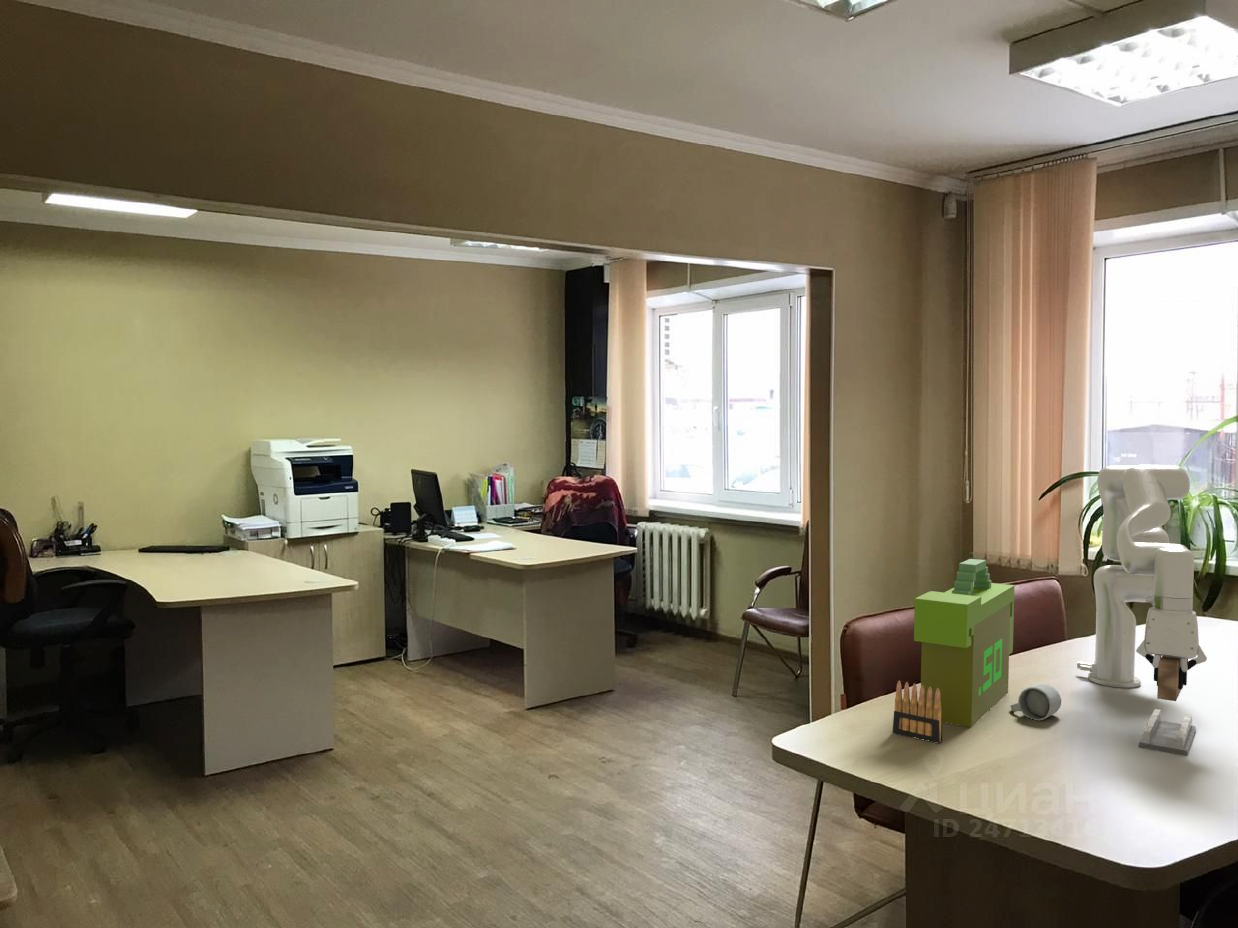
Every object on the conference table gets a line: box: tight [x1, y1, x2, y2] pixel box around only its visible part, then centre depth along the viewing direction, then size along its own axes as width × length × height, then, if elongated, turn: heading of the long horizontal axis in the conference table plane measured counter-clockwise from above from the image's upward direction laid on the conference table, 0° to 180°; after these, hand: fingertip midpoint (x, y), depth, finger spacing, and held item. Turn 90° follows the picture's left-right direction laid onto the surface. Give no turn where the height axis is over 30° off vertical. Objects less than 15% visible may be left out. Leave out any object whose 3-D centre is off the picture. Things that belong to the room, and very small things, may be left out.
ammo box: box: [913, 558, 1015, 728], centre depth 232 cm, size 45×12×35 cm, turn 145°
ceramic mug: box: [1010, 684, 1062, 721], centre depth 225 cm, size 11×8×8 cm
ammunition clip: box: [892, 679, 943, 744], centre depth 209 cm, size 11×2×12 cm, turn 50°
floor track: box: [1138, 708, 1197, 756], centre depth 209 cm, size 9×20×4 cm, turn 144°
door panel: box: [1156, 656, 1182, 702], centre depth 209 cm, size 4×12×8 cm, turn 144°
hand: (1169, 685), depth 209 cm, fingers closed on door panel, 3 cm apart
